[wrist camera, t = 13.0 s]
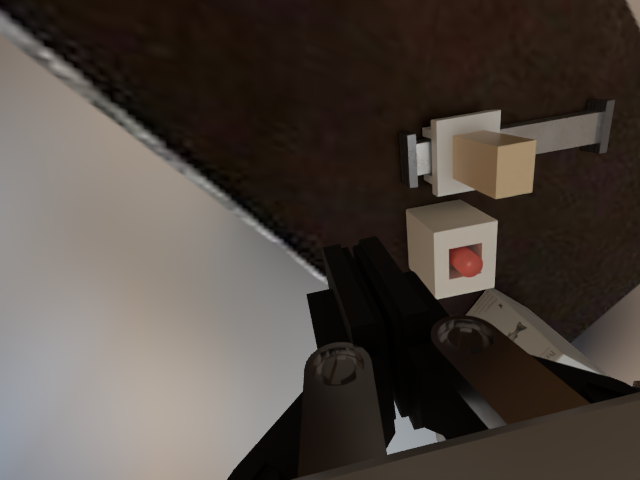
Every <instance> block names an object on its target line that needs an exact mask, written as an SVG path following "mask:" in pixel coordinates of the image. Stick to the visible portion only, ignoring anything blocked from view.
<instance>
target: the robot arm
mask: <svg viewBox="0 0 640 480" xmlns="http://www.w3.org/2000/svg"><path fill="white" fill-rule="evenodd" d="M352 250H353V257H354V259H353V257H352V255H351V253H350V251H349V249H348V247H346V248H341V246H340V244H337V245H333V246H328V247H323V248H322V253H323V258H324V264H325V269H326V275H327V280H328V285H329V289H328V290H323V291H319V292H314V293H310V294H307V299H308V304H309V309H310V314H311V319H312V324H313V329H314V334H315V339H316V344H317V350H316V351H315V352H314V353H313V354H311V356H310V357H309V358H308V360H307V361H306V365H305V369H304V384H303V392H302V393H301V394H300V395H299V396H298V398H297V399H296V400H295V401H294V402H293V403H292V404H291V406H290V407H289V408H288V409H287V410H286V411H285V412H284V414H283V415H282V416H281V417H280V418H279V419H278V420H277V421H276V423H275V424H274V425H273V426H272V427H271V428H270V429H269V430H268V432H267V433H266V434H265V435H264V436H263V437H262V438H261V440H260V441H259V442H258V443H257V444H256V445H255V446H254V448H253V449H252V450H251V451H250V452H249V453H248V454H247V456H246V457H245V458H244V459H243V460H242V461H241V462H240V463H239V464H238V466H237V467H236V468H235V469H234V470H233V472H232V473H231V475H230V476H229V477H228V479H227V480H640V381H634V382H633V386H632V387H631V386H630V385H628V384H626V383H624V382H622V381H619V380H617V379H614V378H611V377H608V376H605V375H601V374H597V373H594V372H590V371H587V370H583V369H580V368H576V367H573V366H569V365H566V364H562V363H558V362H555V361H551V360H548V359H544V358H541V357H537V356H534V355H530V354H528V353H527V352H526V351H525V350H524V349H522V348H521V347H520V346H519V345H517V344H516V343H515V342H514V341H512V340H511V339H510V338H509V337H507V336H506V335H505V334H504V333H502V332H501V331H500V330H499V329H497V328H496V327H495V326H494V325H492V324H491V323H489V322H487V321H486V320H484V319H481V318H478V317H475V316H469V315H453V316H449V315H448V313H447V312H446V311H445V310H444V308H443V307H442V306H441V304H440V303H439V302H438V301H437V299H436V298H435V297H434V296H433V294H432V293H431V292H430V290H429V289H428V288H427V287H426V285H425V284H424V283H423V282H422V280H421V279H420V278H419V276H418V275H417V274H416V273H415V272H414V271H409V272H404V273H402V271H401V270H400V268H399V267H398V266H397V264H396V263H395V261H394V260H393V259H392V257H391V256H390V254H389V253H388V252H387V250H386V249H385V248H384V246H383V245H382V243H381V242H380V241H379V239H378V238H377V237H376V236H375V237H370V238H366V239H361V240H358V245H355V246H352ZM394 401H395V403H396V406H397V408H398V411H399V413H400V415H401V417H407V416H409V418H410V421H411V423H412V425H413V428H414V430H415V429H420V428H424V427H425V428H427V429H429V430H432V431H434V432H436V439H437V441H438V442H437V443H433V444H429V445H425V446H421V447H417V448H413V449H409V450H405V451H401V452H397V453H393V454H390V455H387V452H386V448H387V447H388V445H389V443H390V441H391V440H392V438H393V436H394V434H395V424H394V420H395V419H396V414H395V406H394Z"/></svg>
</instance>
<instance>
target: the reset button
mask: <svg viewBox="0 0 640 480" xmlns="http://www.w3.org/2000/svg"><path fill="white" fill-rule="evenodd" d="M449 263H450V264H451V265H452V266H453V267H454V268H455V269H456V270H457V271H458V272H460V273H461V274H462V275H463V276H464V277H468V278H469V277H474V276H476V275H477V274H478V273H479V272H480V271H481V270H482V267H483V261H482V259H481V258H480V257H479V256H477V255H476V254H475V253H474V252H472V251H471V250H470V249H469V248H467V247H466V246H463V247H458V248H453V249H449Z"/></svg>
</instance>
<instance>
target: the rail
mask: <svg viewBox="0 0 640 480" xmlns="http://www.w3.org/2000/svg"><path fill="white" fill-rule="evenodd" d="M614 103H615V100H605V99H592V100H587V105H586V111H581V112H576V113H570V114H564V115H558V116H552V117H547V118H541V119H535V120H529V121H524V122H518V123H512V124H506V125H500V133H502V134H508V135H513V136H518V137H524V138H529V139H534V140H537V141H536V153H535V154H539V153H545V152H550V151H556V150H561V149H567V148H573V147H578V146H581V150H583V151H588V152H594V153H599V154H600V153H605V152H607V146H608V140H609V134H610V128H611V122H612V115H613V109H614ZM399 147H400V165H401V182H402V183H403V184H405V185H406V186H408V187H409V188H414V187H418V176H417V175H423V174H428V173H432V144H431V139H430V138H425V139H420V140H416V134H414V133H411V132H407V131H405V132H400V133H399Z"/></svg>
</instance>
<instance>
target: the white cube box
mask: <svg viewBox="0 0 640 480" xmlns="http://www.w3.org/2000/svg"><path fill="white" fill-rule="evenodd" d="M406 221H407V239H408V257H409V268H410V269H411V270H412V271H414V272H415V273H416V274H417V275H418V276H419V278H420V279H421V280H422V282H423V283H424V284H425V285H426V287H427V288H428V289H429V290H430V292H431V293H432V294H433V296H434V297H435V298H436V299H441V298H446V297H451V296H455V295H460V294H465V293H470V292H475V291H480V290H484V289H489V288H494V284H495V264H496V256H497V254H496V243H497V223H498V221H497V220H496V219H494V218H492V217H490V216H489V215H487V214H485V213H483V212H481V211H480V210H478V209H476V208H474V207H473V206H471V205H469V204H467V203H466V202H464V201H462V200H460V199H459V200H453V201H448V202H442V203H437V204H432V205H426V206H421V207H416V208H410V209H406ZM463 246H466V247H467V248H469V249H470V250H471V251H472V252H474V253H475V254H476V255H477V256H479V257H480V258H481V259H482V261H483V267H482V270H481V271H480V272H479V273H478V274H477V275H476V276H474V277H469V278H468V277H464V276H463V275H462V274H461V273H460V272H458V271H457V270H456V269H455V268H454V267H453V266H452V265H451V264H450V263H449V249H453V248H458V247H463Z"/></svg>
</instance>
